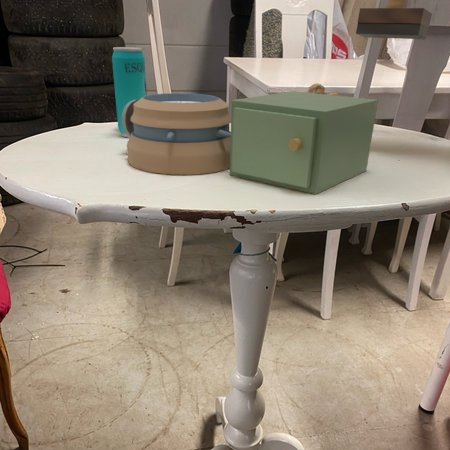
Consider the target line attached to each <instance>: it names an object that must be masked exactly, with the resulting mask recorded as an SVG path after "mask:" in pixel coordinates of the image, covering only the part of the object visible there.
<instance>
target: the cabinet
mask: <svg viewBox="0 0 450 450" xmlns="http://www.w3.org/2000/svg"><path fill="white" fill-rule="evenodd" d="M378 104H379V99H373V98H365V97H354V96H346V95H345V96H344V95H340V96H335V95H327V94H326V93H325V94H315V93H307V91H306V92H304V91H285V92H278V93H272V94H265V95H258V96H257V95H256V96H250V97H243V98H236V99H232V100H231V109H230V111H231V112H230V116H231V123H230V132H231V143H230V168H229V175H230V176H233V177H237V178H242V179H247V180H250V181H254V182H259V183H264V184H267V185H272V186H277V187H281V188H286V189H291V190H295V191H299V192H302V193H303V192H304V193H307V194H312V195H318V194H320V193H322V192H324V191H327V190H328V189H330V188H332V187H335V186H338V185H339V184H342V183H343V182H345V181H348V180H349V179H352V178H353V177H356V176H358V175H360V174H362V173H365V172H366V171H367V168H368V164H369V157H370V151H371V145H372V139H373V133H374V127H375V121H376V116H377V110H378Z"/></svg>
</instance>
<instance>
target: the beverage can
mask: <svg viewBox="0 0 450 450" xmlns="http://www.w3.org/2000/svg"><path fill="white" fill-rule="evenodd" d="M112 50H113V53H112V55H111V62H112V73H113V85H114V97H115V108H116V109H115V110H116V119H117V129H118V130H119V133H120V135H121V136H122V137H123V138H128V139H129V138H130V137H131V136H129V135H128V134H127V133H126V132H125V130H124V128H123V125H122V112H123V109H124V107H125V106H126V105H127V103H128V102H130V101H132V100H140V99H141V98H142V97H144V96H147V95H148V93H147V77H146V76H147V75H146V61H145V60H146V59H145V58H146V57H145V56H144V54H143V48H142V47H132V46H131V47H130V46H129V47H128V46H115V47H114V46H113V47H112Z"/></svg>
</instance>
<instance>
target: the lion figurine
mask: <svg viewBox="0 0 450 450" xmlns="http://www.w3.org/2000/svg"><path fill="white" fill-rule="evenodd" d="M325 90H326V87H325V86H324V85H322V84H321V83H318V82H317V83H313V84H312V85H310V86H309V87H308V88H307V90H306V93H315V94H325V95H335V96H341V95H340V94H339V93H337V92H334V91H333V92H329V93H327V94H326V93H325Z"/></svg>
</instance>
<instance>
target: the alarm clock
mask: <svg viewBox="0 0 450 450" xmlns="http://www.w3.org/2000/svg"><path fill="white" fill-rule="evenodd" d="M229 107H230V106H229V103H227V102H226V101H225V100H223V99H221V97H218V96H215V95H211V94H202V93H190V92H189V93H187V92H186V93H182V92H175V93H173V92H169V93H168V92H167V93H166V92H165V93H154V94H153V93H152V94H147V96H144V97H142V98H141V99H140V100H132V101H130V102H128V103H127V105H126V106H125V107H124V109H123V112H122V125H123V128H124V130H125V132H126V133H127V134H128V135H129V136H131V137H130V138H128V141H127V142H126V154H127V161H128V164H129V165H130V166H132V167H133V168H134V169H137V170H140V171H144V172H148V173H155V174H162V175H174V176H176V175H178V176H181V175H182V176H187V175H203V174H204V175H205V174H211V173H212V174H213V173H217V172H222V171H226V170H228V169H230V143H231V130H230V125H231V113H230V112H229V111H230V110H229Z"/></svg>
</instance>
